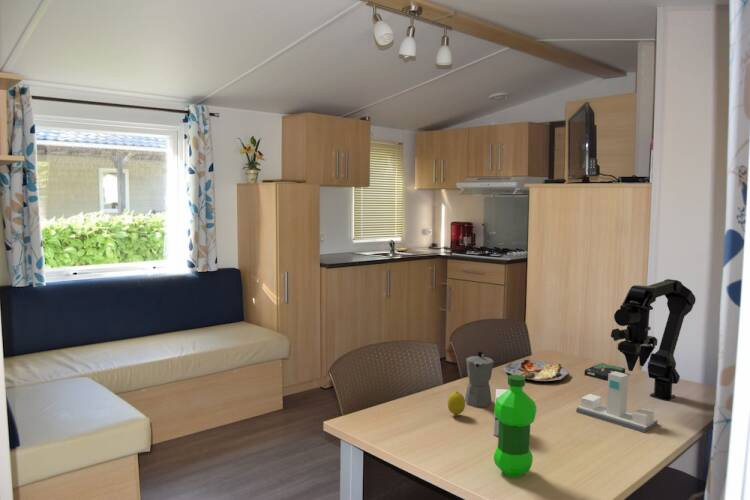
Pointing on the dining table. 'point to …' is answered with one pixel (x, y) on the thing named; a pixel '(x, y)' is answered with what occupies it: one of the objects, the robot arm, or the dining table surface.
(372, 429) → the dining table surface
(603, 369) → the disk drive
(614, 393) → the block
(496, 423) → the ink box
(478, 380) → the coffeepot
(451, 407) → the lemon
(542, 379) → the food plate
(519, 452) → the plastic bottle
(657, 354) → the robot arm
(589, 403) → the rail board
